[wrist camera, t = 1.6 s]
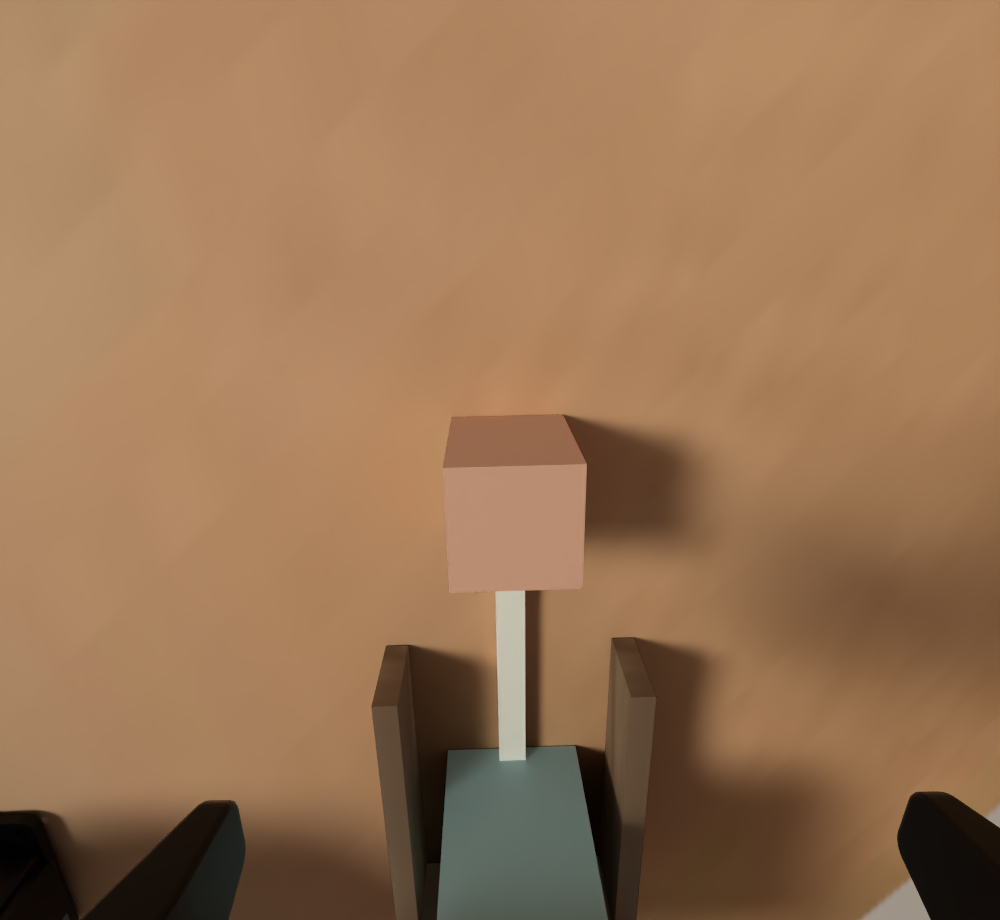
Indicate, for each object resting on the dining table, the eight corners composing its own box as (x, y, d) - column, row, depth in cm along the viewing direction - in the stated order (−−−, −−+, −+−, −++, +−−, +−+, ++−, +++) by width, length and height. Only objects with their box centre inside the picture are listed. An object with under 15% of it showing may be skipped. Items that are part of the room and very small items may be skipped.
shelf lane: (409, 877, 25) (373, 1192, 17) (386, 645, 21) (323, 909, 13) (617, 868, 26) (683, 1176, 17) (633, 637, 21) (732, 891, 13)
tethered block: (453, 842, 25) (444, 1037, 19) (427, 417, 18) (400, 502, 12) (571, 837, 25) (601, 1029, 19) (586, 413, 19) (638, 495, 12)
